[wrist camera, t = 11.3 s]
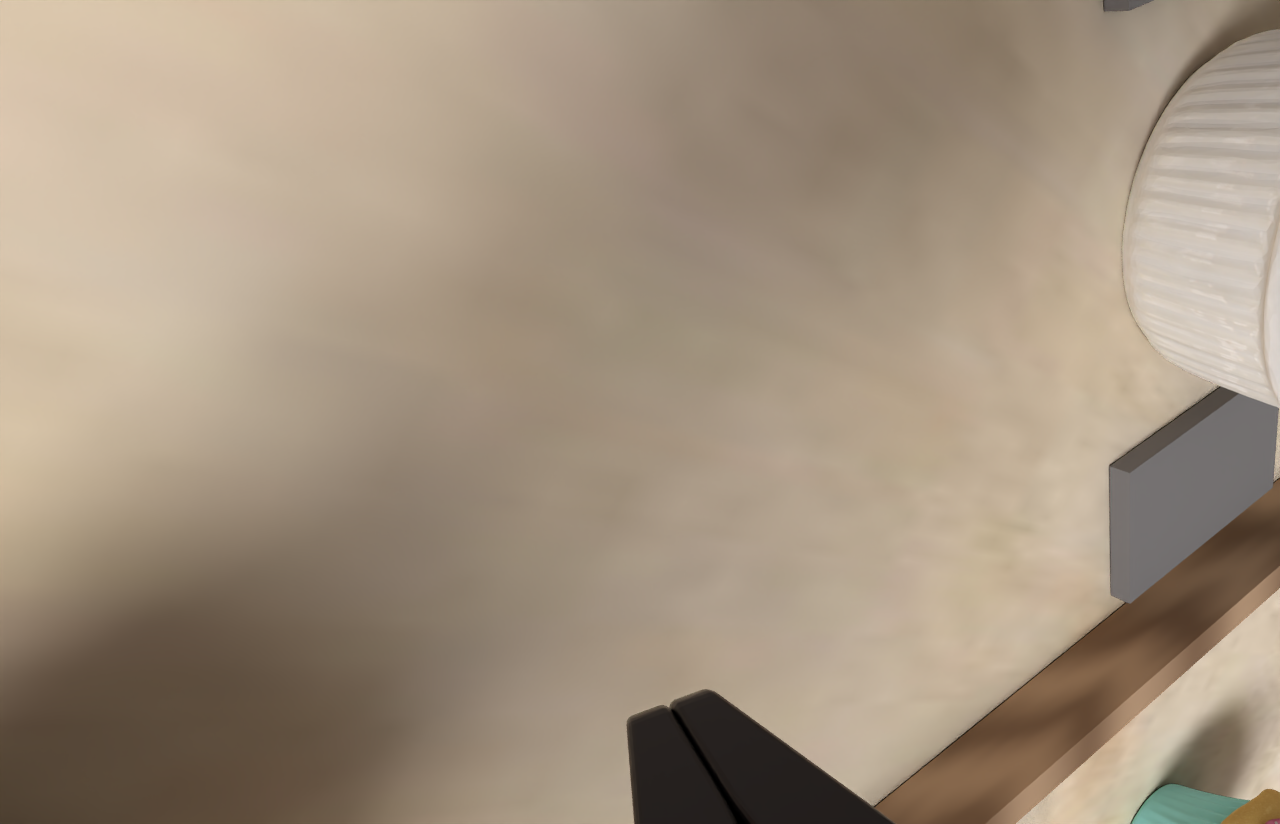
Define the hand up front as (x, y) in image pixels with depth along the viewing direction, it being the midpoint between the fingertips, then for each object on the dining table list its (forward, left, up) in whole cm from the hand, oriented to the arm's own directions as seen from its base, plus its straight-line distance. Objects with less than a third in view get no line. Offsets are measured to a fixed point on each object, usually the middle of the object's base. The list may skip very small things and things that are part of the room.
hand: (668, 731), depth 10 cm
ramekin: (+17, -28, -14) cm, 36 cm away
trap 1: (+9, -35, -13) cm, 39 cm away
